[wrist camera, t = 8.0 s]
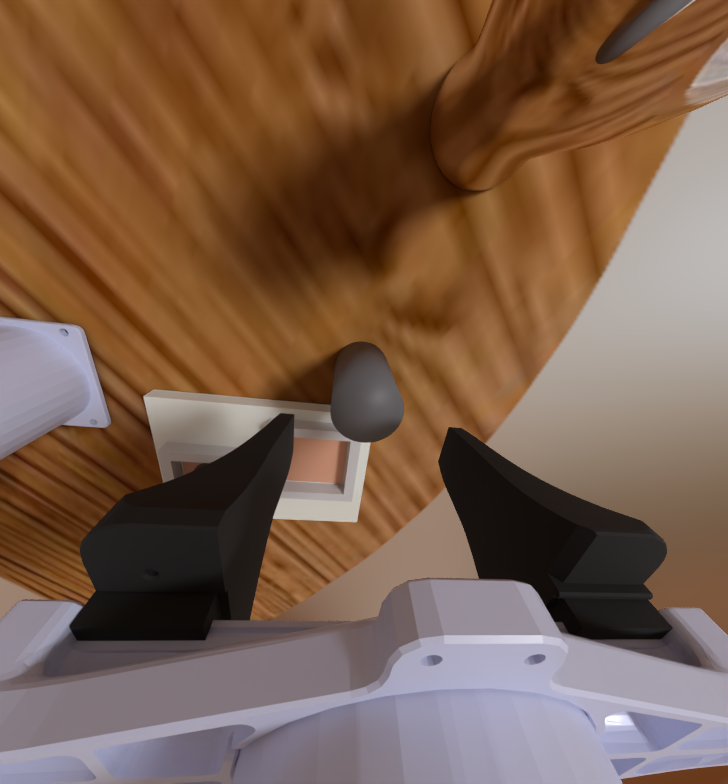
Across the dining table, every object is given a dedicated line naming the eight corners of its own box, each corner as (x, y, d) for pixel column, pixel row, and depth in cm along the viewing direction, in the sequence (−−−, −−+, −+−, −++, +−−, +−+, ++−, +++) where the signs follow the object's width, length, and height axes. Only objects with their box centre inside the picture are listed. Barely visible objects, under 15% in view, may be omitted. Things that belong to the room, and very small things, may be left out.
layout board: (177, 503, 26) (162, 525, 24) (153, 389, 21) (131, 404, 19) (356, 512, 28) (357, 533, 26) (373, 408, 23) (376, 424, 21)
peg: (332, 388, 22) (327, 439, 16) (337, 338, 20) (333, 374, 14) (382, 392, 22) (396, 445, 16) (390, 344, 21) (410, 382, 14)
